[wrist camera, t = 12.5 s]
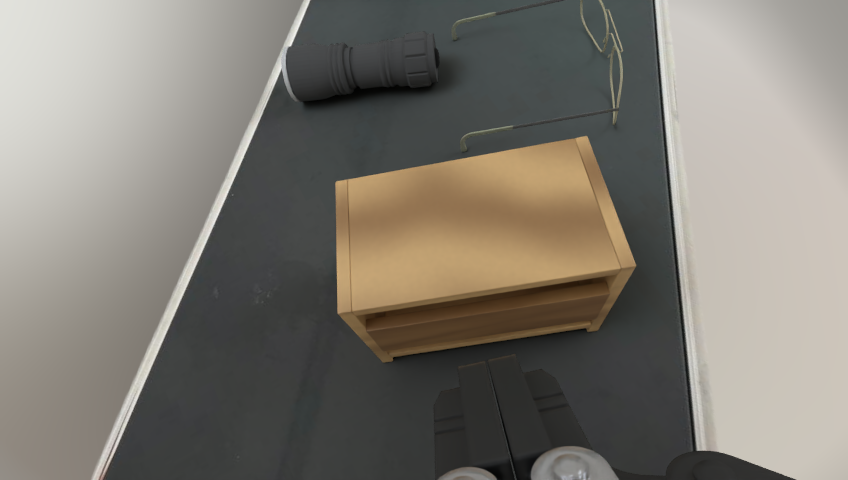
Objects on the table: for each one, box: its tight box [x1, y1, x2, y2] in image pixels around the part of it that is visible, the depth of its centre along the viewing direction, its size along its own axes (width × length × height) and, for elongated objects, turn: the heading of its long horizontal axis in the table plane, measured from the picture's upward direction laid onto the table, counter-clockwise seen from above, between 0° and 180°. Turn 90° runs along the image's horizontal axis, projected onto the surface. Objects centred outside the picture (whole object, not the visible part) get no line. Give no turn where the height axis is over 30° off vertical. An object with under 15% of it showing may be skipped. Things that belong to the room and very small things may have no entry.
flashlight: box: [282, 31, 440, 102], centre depth 47 cm, size 15×5×5 cm, turn 90°
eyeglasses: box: [452, 0, 623, 152], centre depth 44 cm, size 16×15×5 cm
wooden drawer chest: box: [336, 136, 636, 363], centre depth 31 cm, size 9×16×11 cm, turn 96°
